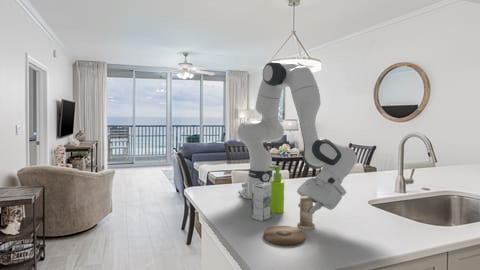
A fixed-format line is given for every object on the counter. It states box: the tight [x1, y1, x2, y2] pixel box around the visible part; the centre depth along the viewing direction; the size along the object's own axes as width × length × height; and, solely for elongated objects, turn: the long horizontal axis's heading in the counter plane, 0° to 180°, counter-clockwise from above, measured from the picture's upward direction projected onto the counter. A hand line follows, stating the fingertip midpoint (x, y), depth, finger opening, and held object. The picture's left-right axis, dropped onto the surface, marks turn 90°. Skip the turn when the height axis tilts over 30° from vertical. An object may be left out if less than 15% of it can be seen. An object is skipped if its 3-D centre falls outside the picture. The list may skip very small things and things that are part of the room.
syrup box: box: [251, 182, 272, 222], centre depth 122 cm, size 6×6×14 cm
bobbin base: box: [263, 225, 306, 247], centre depth 104 cm, size 14×14×2 cm
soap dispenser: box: [269, 165, 285, 214], centre depth 131 cm, size 6×7×20 cm
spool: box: [297, 196, 316, 231], centre depth 114 cm, size 6×6×11 cm
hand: (304, 209), depth 113 cm, fingers open, 5 cm apart
